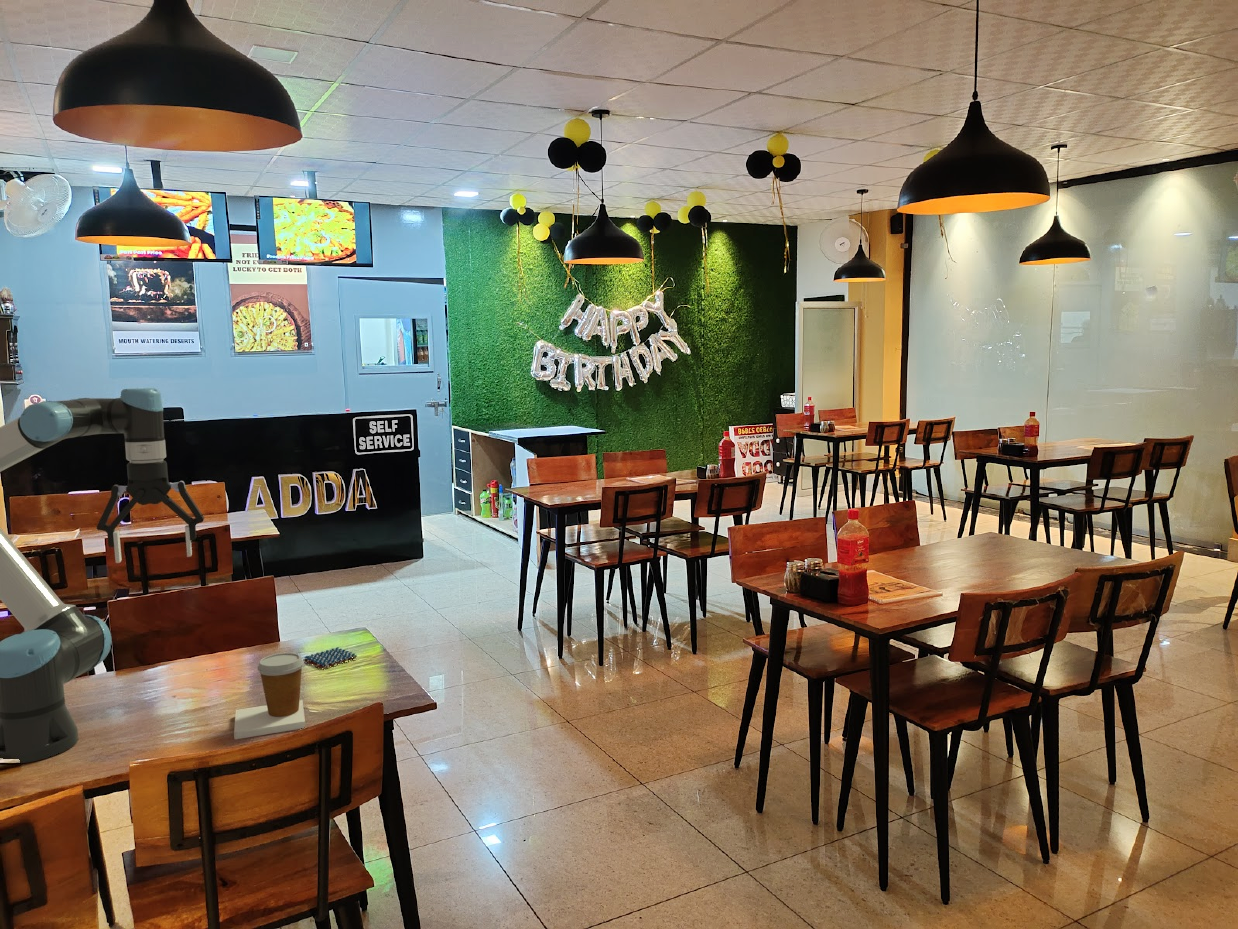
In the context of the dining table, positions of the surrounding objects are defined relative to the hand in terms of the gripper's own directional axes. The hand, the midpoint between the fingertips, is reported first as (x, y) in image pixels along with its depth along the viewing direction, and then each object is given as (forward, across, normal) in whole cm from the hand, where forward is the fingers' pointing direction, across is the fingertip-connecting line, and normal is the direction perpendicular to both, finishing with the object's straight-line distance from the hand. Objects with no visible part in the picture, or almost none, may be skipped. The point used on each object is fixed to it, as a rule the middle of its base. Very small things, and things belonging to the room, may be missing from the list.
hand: (154, 558), depth 187 cm
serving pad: (+37, +21, -10) cm, 43 cm away
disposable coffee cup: (+35, +24, -9) cm, 44 cm away
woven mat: (+37, +36, +26) cm, 58 cm away
